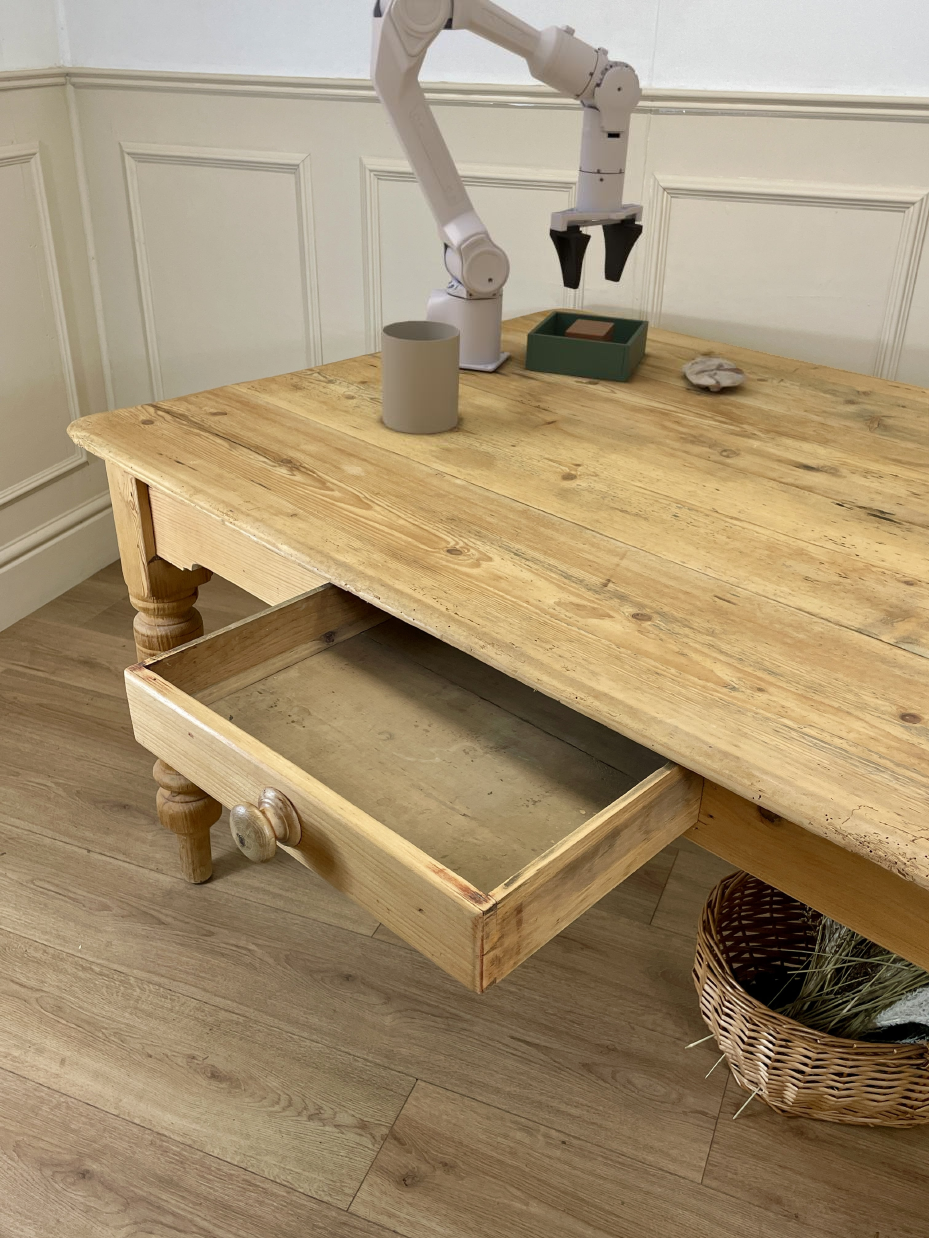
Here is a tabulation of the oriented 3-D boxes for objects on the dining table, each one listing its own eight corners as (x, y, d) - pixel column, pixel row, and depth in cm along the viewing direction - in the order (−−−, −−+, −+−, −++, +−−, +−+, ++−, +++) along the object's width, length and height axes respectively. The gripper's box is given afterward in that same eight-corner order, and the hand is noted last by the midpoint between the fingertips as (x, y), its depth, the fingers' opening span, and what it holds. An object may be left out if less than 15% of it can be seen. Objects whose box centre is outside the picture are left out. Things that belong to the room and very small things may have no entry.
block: (562, 362, 130) (565, 331, 128) (575, 348, 135) (577, 319, 133) (600, 367, 128) (603, 336, 126) (611, 353, 134) (614, 323, 132)
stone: (753, 396, 121) (757, 375, 120) (694, 396, 121) (698, 374, 119) (728, 373, 130) (731, 353, 128) (673, 372, 129) (676, 352, 128)
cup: (430, 439, 106) (430, 346, 101) (368, 423, 110) (365, 332, 105) (471, 417, 112) (474, 328, 107) (411, 403, 116) (411, 316, 111)
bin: (525, 369, 129) (527, 333, 126) (551, 343, 139) (553, 310, 137) (625, 382, 125) (629, 345, 123) (644, 355, 136) (648, 321, 133)
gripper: (582, 178, 116) (573, 297, 123) (665, 171, 124) (652, 283, 131) (542, 171, 121) (535, 286, 128) (624, 165, 129) (613, 273, 136)
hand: (591, 284), depth 130 cm, fingers open, 7 cm apart
